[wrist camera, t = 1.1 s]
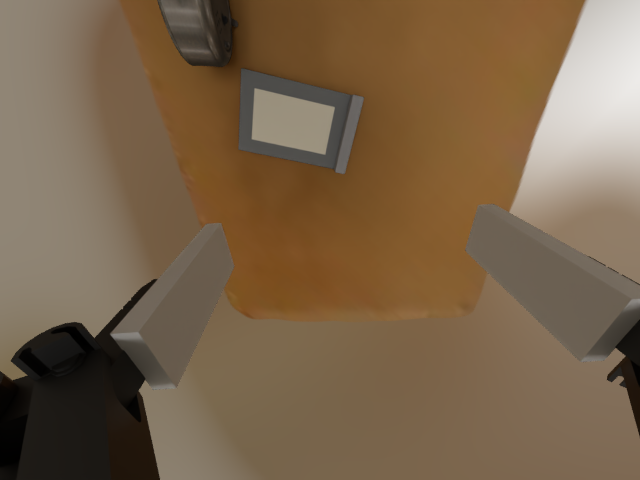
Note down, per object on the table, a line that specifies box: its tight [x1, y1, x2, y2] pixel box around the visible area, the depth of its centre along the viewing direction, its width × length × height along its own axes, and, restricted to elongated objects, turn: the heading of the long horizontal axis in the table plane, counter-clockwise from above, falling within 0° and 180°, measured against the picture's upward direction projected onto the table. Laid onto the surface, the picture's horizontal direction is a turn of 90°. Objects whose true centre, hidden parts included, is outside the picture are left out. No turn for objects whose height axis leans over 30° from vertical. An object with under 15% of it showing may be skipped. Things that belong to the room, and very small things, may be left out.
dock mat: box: [239, 68, 364, 174], centre depth 36 cm, size 11×18×3 cm, turn 78°
